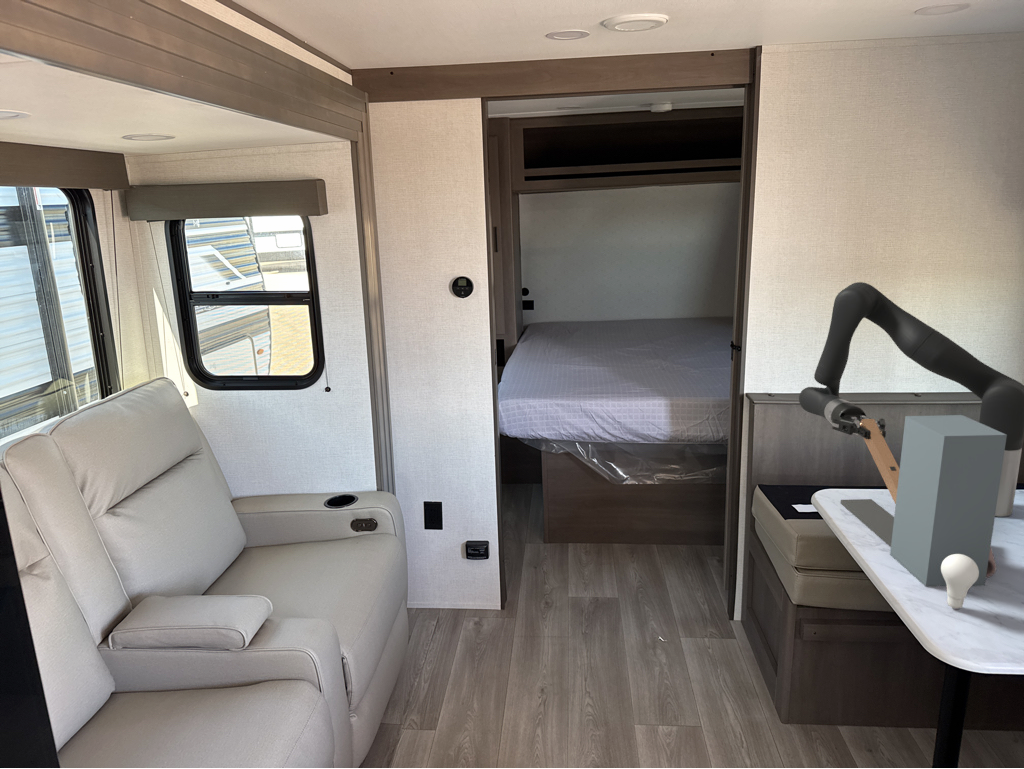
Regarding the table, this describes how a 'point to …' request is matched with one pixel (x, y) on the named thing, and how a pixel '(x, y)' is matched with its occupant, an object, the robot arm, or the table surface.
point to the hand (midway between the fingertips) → (876, 435)
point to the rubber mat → (872, 517)
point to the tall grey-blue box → (946, 494)
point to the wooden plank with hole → (882, 456)
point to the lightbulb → (958, 577)
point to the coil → (991, 564)
